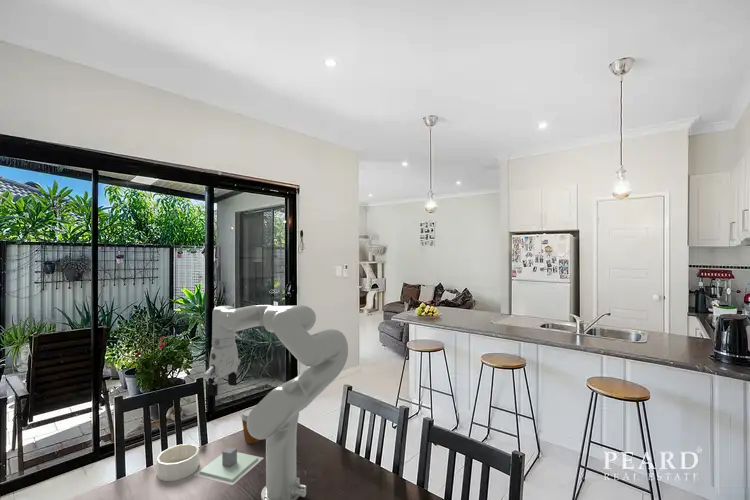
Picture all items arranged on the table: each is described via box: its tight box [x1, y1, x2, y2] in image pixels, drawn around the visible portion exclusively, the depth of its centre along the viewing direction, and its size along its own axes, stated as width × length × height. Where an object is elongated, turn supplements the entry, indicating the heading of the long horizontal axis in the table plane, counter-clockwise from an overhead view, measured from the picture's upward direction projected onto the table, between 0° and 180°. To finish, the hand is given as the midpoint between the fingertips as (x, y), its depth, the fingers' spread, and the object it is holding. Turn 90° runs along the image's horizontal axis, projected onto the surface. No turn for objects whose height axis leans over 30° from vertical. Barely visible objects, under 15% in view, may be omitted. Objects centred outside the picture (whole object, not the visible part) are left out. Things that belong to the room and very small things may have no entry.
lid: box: [199, 446, 259, 481], centre depth 134 cm, size 14×14×6 cm
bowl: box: [156, 443, 200, 482], centre depth 133 cm, size 13×13×6 cm
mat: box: [193, 451, 264, 486], centre depth 135 cm, size 17×17×1 cm
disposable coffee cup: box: [240, 406, 262, 444], centre depth 153 cm, size 10×10×12 cm
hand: (222, 389), depth 131 cm, fingers open, 9 cm apart
